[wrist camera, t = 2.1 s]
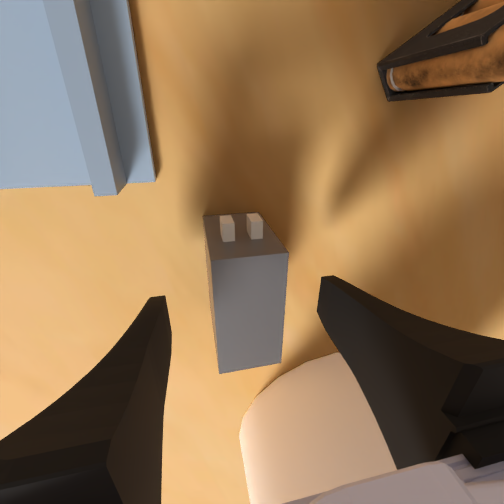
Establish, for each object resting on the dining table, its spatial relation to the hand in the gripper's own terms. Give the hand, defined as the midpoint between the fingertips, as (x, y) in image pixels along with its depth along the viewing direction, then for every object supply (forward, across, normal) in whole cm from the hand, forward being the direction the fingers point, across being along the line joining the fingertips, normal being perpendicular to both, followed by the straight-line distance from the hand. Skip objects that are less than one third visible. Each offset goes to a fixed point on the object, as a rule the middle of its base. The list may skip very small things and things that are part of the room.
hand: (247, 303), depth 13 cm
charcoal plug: (+4, 0, 0) cm, 4 cm away
